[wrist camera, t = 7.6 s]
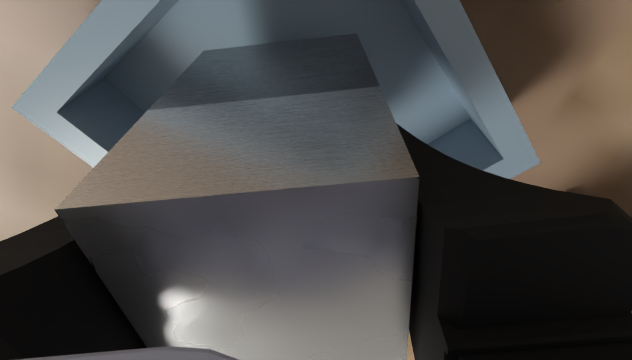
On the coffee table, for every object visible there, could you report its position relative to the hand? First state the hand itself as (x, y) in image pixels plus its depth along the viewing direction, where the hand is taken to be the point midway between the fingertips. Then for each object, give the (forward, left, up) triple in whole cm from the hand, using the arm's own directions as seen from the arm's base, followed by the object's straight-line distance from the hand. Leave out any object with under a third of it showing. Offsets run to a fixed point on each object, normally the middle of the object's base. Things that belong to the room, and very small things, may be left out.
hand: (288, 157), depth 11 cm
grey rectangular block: (0, 0, -3) cm, 3 cm away
